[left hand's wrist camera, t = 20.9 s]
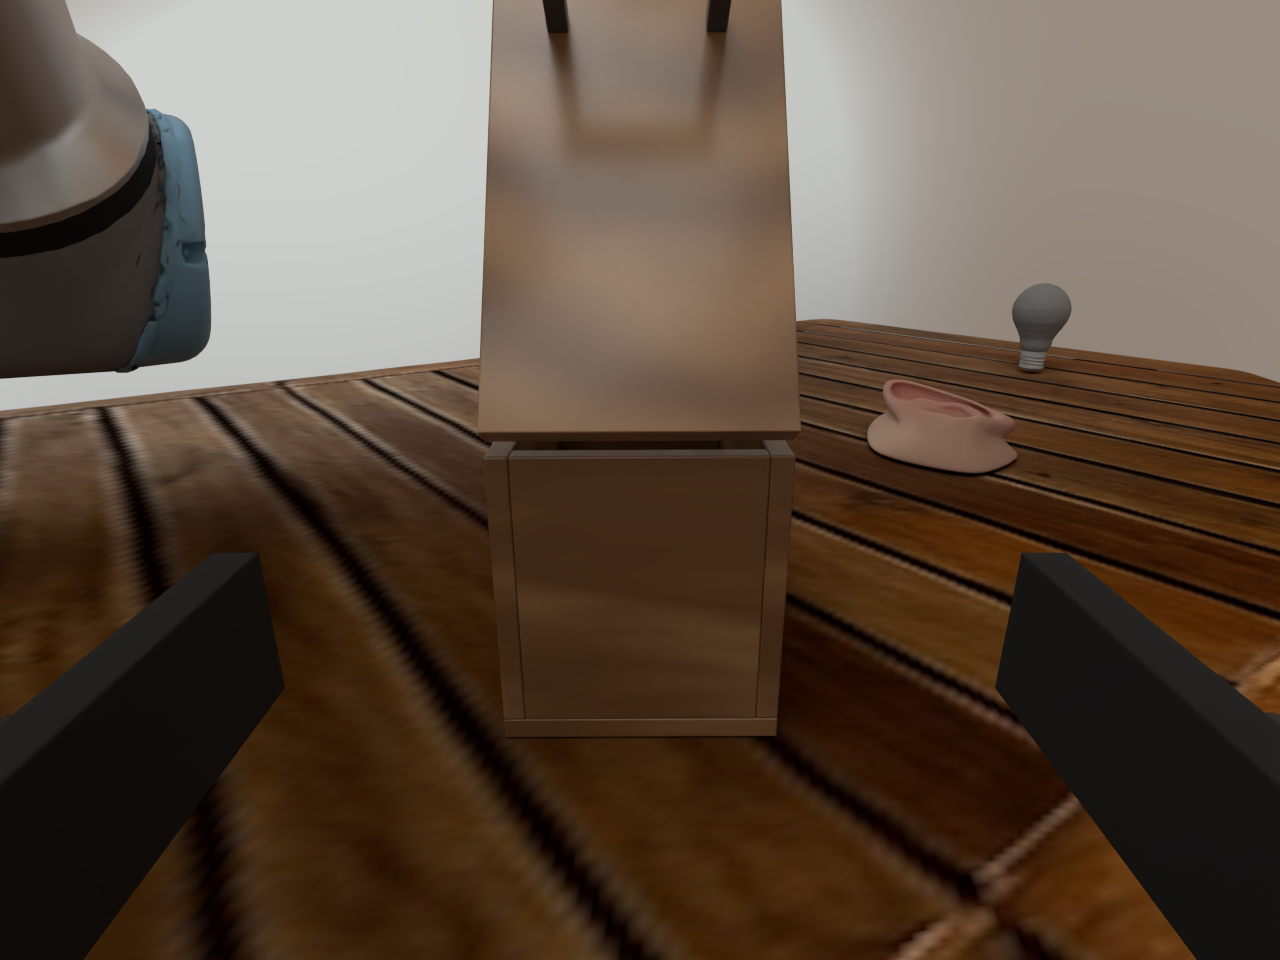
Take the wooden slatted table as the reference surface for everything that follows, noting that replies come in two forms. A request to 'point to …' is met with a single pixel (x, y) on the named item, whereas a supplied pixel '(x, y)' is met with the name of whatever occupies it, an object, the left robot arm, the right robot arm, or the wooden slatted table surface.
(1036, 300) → the light bulb
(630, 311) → the lid
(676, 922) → the wooden slatted table surface
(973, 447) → the anatomical model
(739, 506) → the chest
